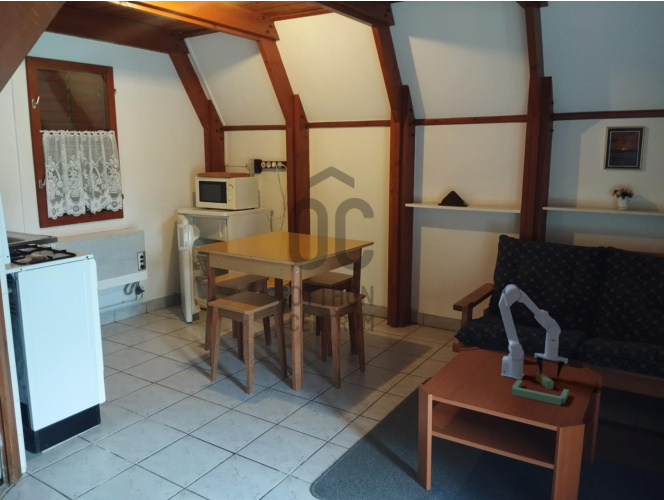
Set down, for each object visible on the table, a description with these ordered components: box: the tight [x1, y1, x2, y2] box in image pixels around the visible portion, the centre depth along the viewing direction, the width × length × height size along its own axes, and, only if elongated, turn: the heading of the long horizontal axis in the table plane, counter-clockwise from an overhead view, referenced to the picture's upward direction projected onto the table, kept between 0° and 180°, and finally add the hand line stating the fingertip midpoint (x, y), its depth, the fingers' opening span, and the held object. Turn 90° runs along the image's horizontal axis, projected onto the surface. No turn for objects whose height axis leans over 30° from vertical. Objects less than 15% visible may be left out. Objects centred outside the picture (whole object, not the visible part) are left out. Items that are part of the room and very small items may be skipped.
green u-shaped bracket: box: [511, 379, 570, 406], centre depth 243 cm, size 22×14×3 cm, turn 58°
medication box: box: [534, 371, 555, 390], centre depth 255 cm, size 12×3×4 cm, turn 8°
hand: (549, 374), depth 263 cm, fingers open, 7 cm apart
